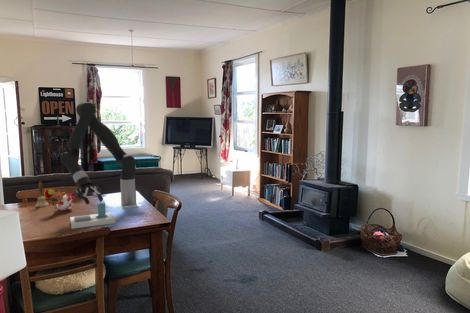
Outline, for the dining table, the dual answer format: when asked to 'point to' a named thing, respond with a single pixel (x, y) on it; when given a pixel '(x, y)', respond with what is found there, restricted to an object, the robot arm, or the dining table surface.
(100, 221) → the well board
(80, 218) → the slate pad
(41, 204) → the hand bell
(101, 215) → the teal block
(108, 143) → the robot arm
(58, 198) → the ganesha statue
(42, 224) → the dining table surface
